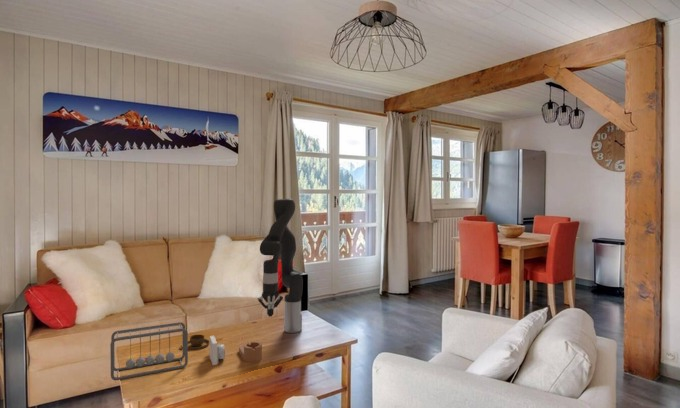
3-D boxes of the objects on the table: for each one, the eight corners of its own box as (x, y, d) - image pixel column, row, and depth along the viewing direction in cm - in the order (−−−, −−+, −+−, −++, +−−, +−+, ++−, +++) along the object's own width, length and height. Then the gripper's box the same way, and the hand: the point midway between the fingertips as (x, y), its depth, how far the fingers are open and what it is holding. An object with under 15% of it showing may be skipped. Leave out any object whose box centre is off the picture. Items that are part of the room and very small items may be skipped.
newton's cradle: (185, 358, 187) (184, 321, 186) (187, 367, 178) (187, 328, 177) (111, 371, 173) (111, 331, 172) (110, 381, 164) (110, 339, 163)
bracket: (264, 360, 186) (264, 346, 186) (246, 364, 182) (246, 349, 182) (253, 347, 202) (253, 333, 202) (237, 350, 198) (237, 336, 198)
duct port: (222, 354, 192) (222, 334, 191) (225, 363, 183) (225, 341, 182) (209, 356, 189) (209, 336, 189) (212, 365, 180) (212, 343, 180)
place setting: (214, 340, 212) (214, 329, 211) (217, 354, 193) (217, 342, 193) (179, 344, 205) (179, 332, 205) (178, 359, 187) (178, 347, 186)
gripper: (281, 278, 202) (281, 312, 203) (255, 280, 197) (255, 315, 197) (285, 281, 195) (285, 316, 196) (258, 284, 190) (258, 319, 190)
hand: (270, 316), depth 197 cm, fingers closed
